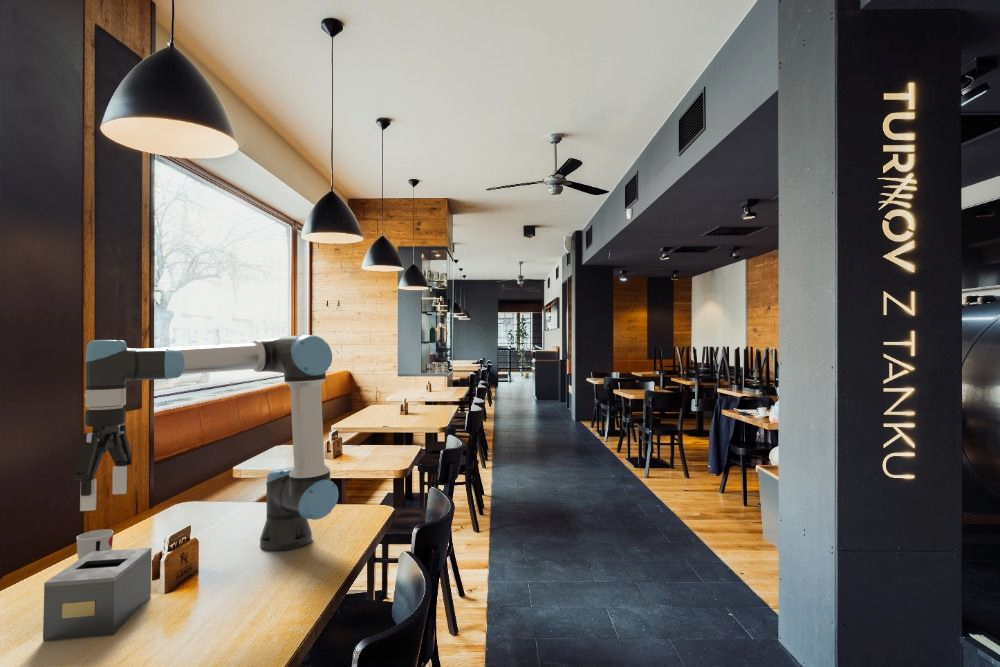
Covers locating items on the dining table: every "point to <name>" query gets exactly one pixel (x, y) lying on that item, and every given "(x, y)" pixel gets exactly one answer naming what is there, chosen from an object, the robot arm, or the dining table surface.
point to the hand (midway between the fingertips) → (104, 501)
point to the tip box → (96, 594)
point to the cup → (94, 542)
